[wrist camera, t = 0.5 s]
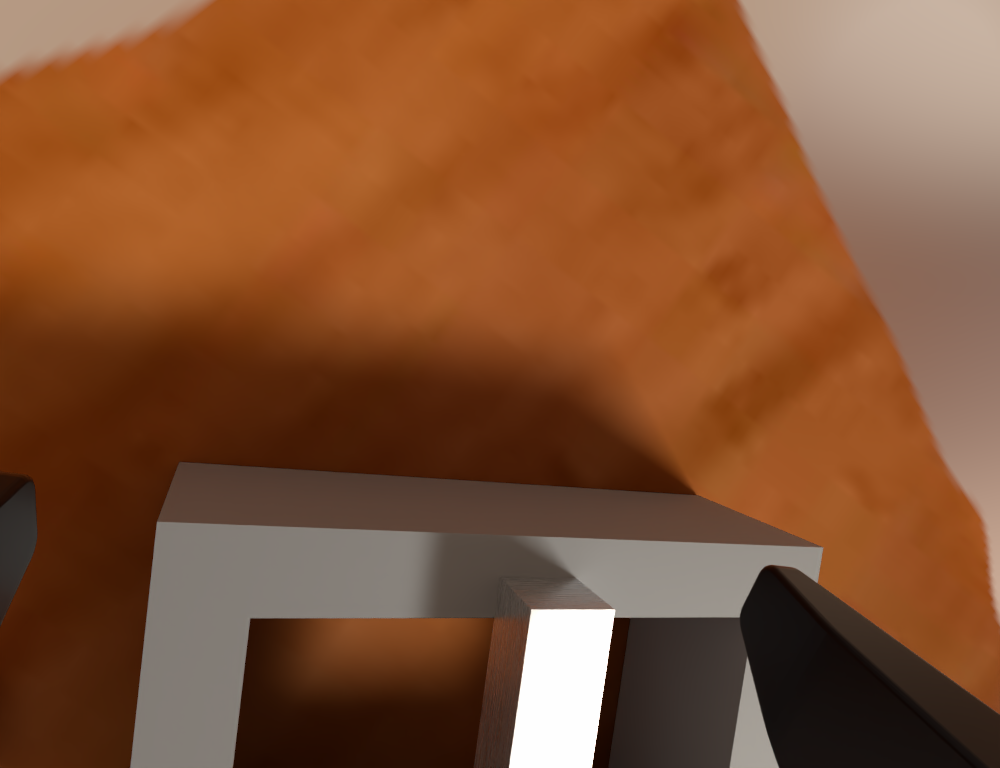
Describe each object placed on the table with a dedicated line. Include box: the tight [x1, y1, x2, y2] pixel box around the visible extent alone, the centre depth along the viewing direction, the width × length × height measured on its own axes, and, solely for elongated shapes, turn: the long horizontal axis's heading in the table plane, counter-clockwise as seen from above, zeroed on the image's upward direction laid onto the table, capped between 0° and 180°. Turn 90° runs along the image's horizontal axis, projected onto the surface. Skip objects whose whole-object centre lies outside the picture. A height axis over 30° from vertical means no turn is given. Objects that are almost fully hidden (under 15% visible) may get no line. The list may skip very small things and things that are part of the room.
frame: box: [130, 462, 823, 768], centre depth 21 cm, size 12×17×6 cm
